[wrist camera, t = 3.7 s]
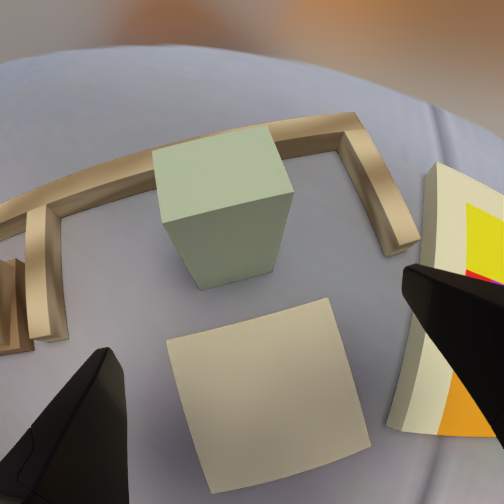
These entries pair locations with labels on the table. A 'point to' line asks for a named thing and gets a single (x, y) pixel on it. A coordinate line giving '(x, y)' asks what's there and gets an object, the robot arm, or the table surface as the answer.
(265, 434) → the mat
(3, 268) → the offcut oak
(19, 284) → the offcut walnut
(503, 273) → the puzzle game
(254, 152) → the tall green pillar
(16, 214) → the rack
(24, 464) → the robot arm
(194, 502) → the table surface
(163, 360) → the table surface
